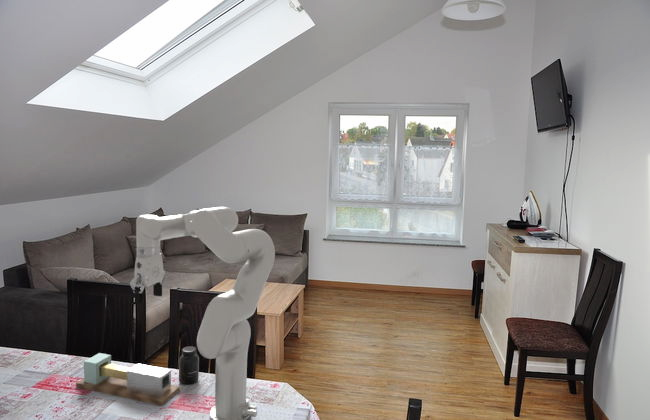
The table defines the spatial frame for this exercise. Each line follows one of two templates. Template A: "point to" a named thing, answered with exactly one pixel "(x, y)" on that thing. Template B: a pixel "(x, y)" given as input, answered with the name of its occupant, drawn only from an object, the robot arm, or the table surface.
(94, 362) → the sage socket block
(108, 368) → the brass inner tube
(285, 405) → the table surface
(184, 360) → the supplement bottle
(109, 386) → the walnut base board
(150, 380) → the steel sleeve
